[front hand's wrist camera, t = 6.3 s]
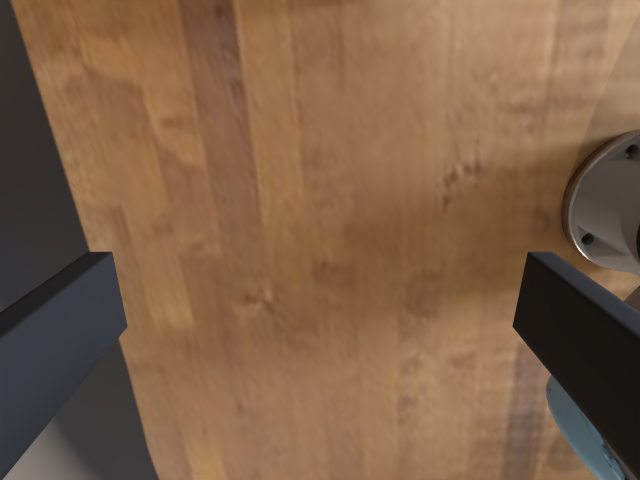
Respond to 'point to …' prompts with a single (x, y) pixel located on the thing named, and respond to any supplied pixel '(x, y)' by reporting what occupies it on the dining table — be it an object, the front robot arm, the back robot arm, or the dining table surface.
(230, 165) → the dining table surface
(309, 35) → the dining table surface
